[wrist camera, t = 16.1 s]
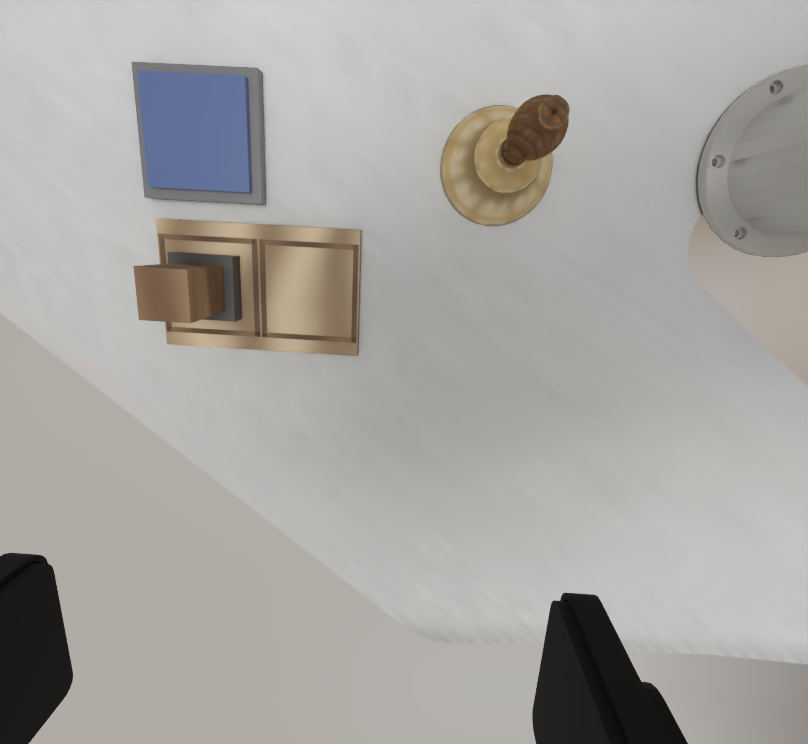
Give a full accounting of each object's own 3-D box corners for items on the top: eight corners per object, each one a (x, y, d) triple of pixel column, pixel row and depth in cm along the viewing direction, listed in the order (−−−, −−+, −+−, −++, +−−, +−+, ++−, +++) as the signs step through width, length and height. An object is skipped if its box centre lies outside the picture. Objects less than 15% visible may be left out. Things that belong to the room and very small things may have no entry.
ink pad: (262, 73, 33) (254, 64, 31) (266, 204, 35) (258, 202, 34) (140, 67, 33) (126, 58, 31) (152, 198, 35) (140, 196, 34)
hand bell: (546, 226, 35) (645, 211, 20) (439, 226, 35) (453, 211, 20) (556, 105, 33) (676, -18, 17) (441, 106, 33) (460, -14, 18)
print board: (361, 230, 35) (360, 230, 35) (357, 354, 38) (356, 355, 38) (160, 219, 36) (155, 218, 35) (171, 342, 39) (166, 344, 38)
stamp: (239, 256, 36) (197, 258, 29) (242, 318, 37) (202, 334, 30) (177, 252, 36) (121, 253, 29) (181, 314, 37) (129, 330, 31)
